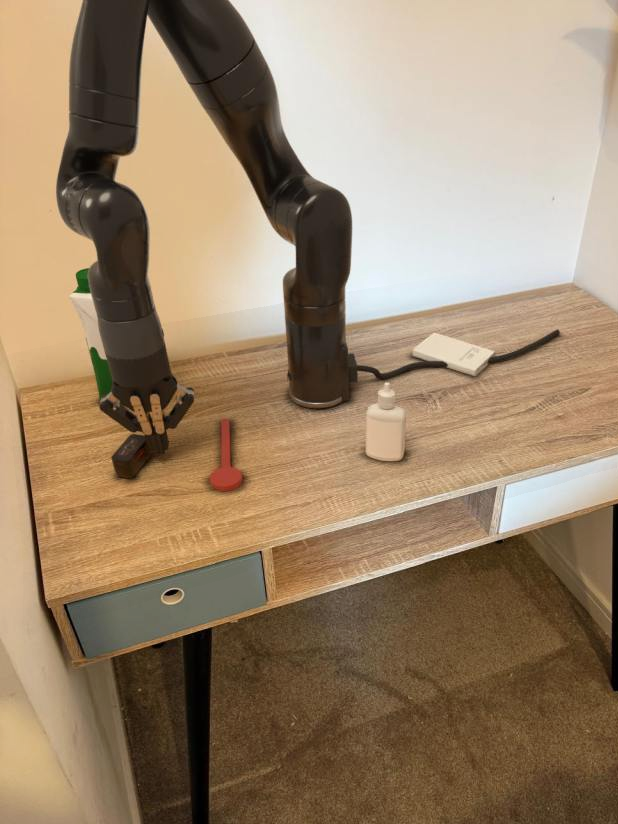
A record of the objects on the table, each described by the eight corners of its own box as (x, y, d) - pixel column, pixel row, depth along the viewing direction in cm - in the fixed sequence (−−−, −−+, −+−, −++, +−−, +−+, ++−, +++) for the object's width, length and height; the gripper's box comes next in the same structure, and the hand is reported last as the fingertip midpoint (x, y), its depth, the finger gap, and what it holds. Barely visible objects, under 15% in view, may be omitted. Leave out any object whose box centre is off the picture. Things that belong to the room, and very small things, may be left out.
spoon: (240, 422, 114) (239, 417, 114) (242, 489, 102) (242, 484, 101) (211, 424, 114) (210, 419, 113) (210, 492, 101) (209, 487, 101)
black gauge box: (155, 451, 108) (151, 433, 106) (132, 480, 103) (128, 461, 101) (126, 446, 109) (121, 428, 107) (102, 475, 104) (96, 456, 101)
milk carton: (117, 376, 124) (89, 259, 111) (168, 383, 123) (146, 266, 110) (92, 404, 117) (58, 283, 104) (145, 411, 116) (118, 290, 103)
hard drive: (434, 339, 137) (495, 358, 132) (411, 357, 131) (474, 377, 126) (434, 331, 135) (496, 350, 131) (412, 349, 130) (475, 369, 125)
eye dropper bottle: (389, 469, 106) (392, 397, 98) (360, 453, 109) (361, 382, 101) (408, 455, 109) (413, 385, 101) (380, 440, 112) (382, 370, 104)
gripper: (75, 361, 90) (109, 472, 102) (186, 352, 92) (207, 462, 104) (83, 332, 96) (115, 440, 107) (187, 324, 98) (207, 432, 109)
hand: (160, 451), depth 106 cm, fingers closed
